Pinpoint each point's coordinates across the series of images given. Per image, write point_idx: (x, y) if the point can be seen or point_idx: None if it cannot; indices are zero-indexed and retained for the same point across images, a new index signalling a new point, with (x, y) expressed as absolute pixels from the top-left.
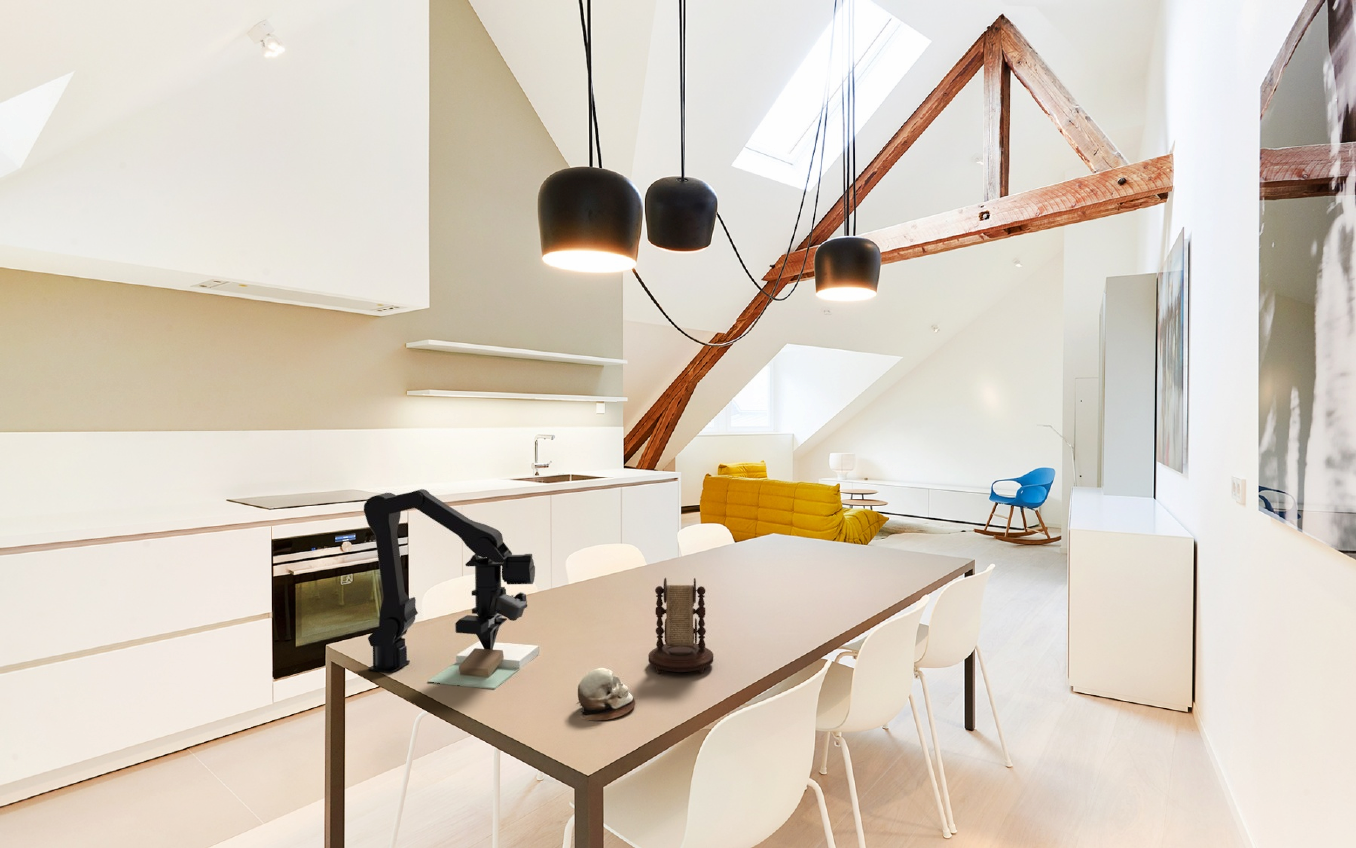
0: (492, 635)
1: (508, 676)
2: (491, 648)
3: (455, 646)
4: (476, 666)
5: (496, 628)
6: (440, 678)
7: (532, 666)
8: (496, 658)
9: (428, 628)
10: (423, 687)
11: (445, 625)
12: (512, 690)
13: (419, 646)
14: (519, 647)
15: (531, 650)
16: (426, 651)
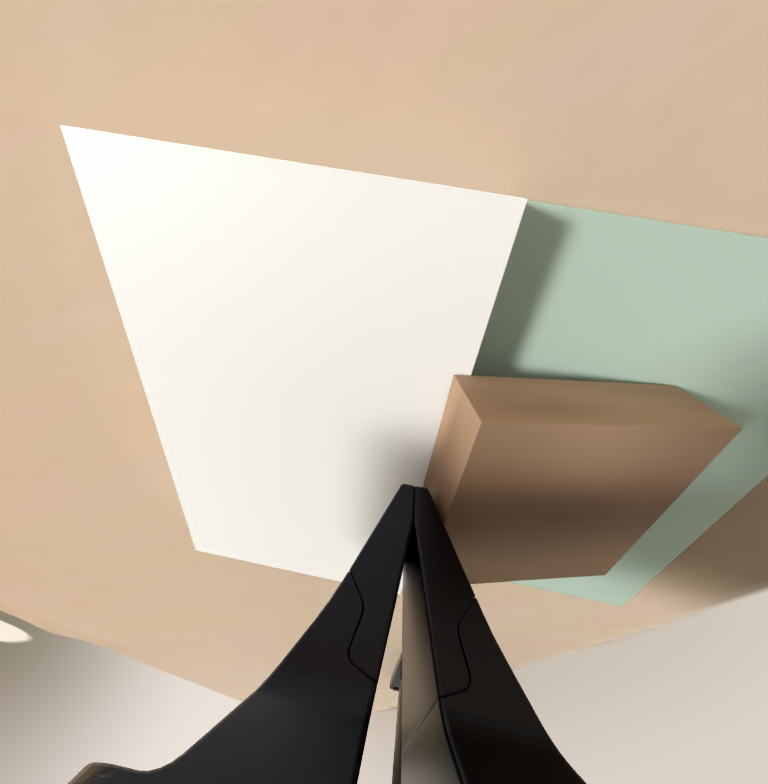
0: (454, 646)
1: (715, 235)
2: (423, 509)
3: (225, 579)
4: (650, 506)
5: (369, 719)
6: (600, 578)
7: (425, 80)
8: (598, 423)
9: (131, 639)
10: (672, 602)
11: (85, 616)
12: None
13: (262, 642)
14: (188, 322)
15: (213, 165)
16: (295, 628)
